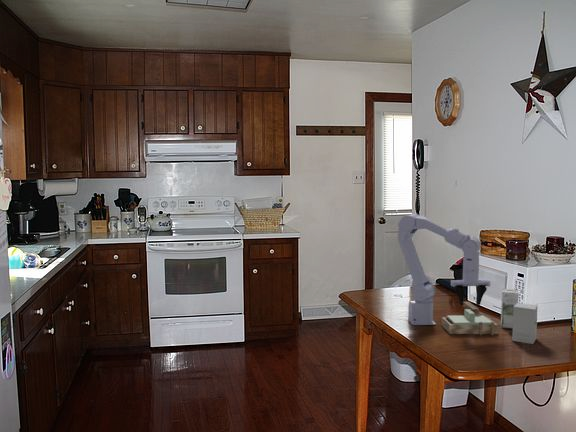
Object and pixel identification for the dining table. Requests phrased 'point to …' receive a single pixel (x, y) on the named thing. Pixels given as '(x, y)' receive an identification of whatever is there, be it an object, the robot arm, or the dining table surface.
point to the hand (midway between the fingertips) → (469, 304)
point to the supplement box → (524, 323)
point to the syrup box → (508, 307)
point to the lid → (469, 319)
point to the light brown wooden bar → (471, 307)
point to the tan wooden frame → (469, 327)
